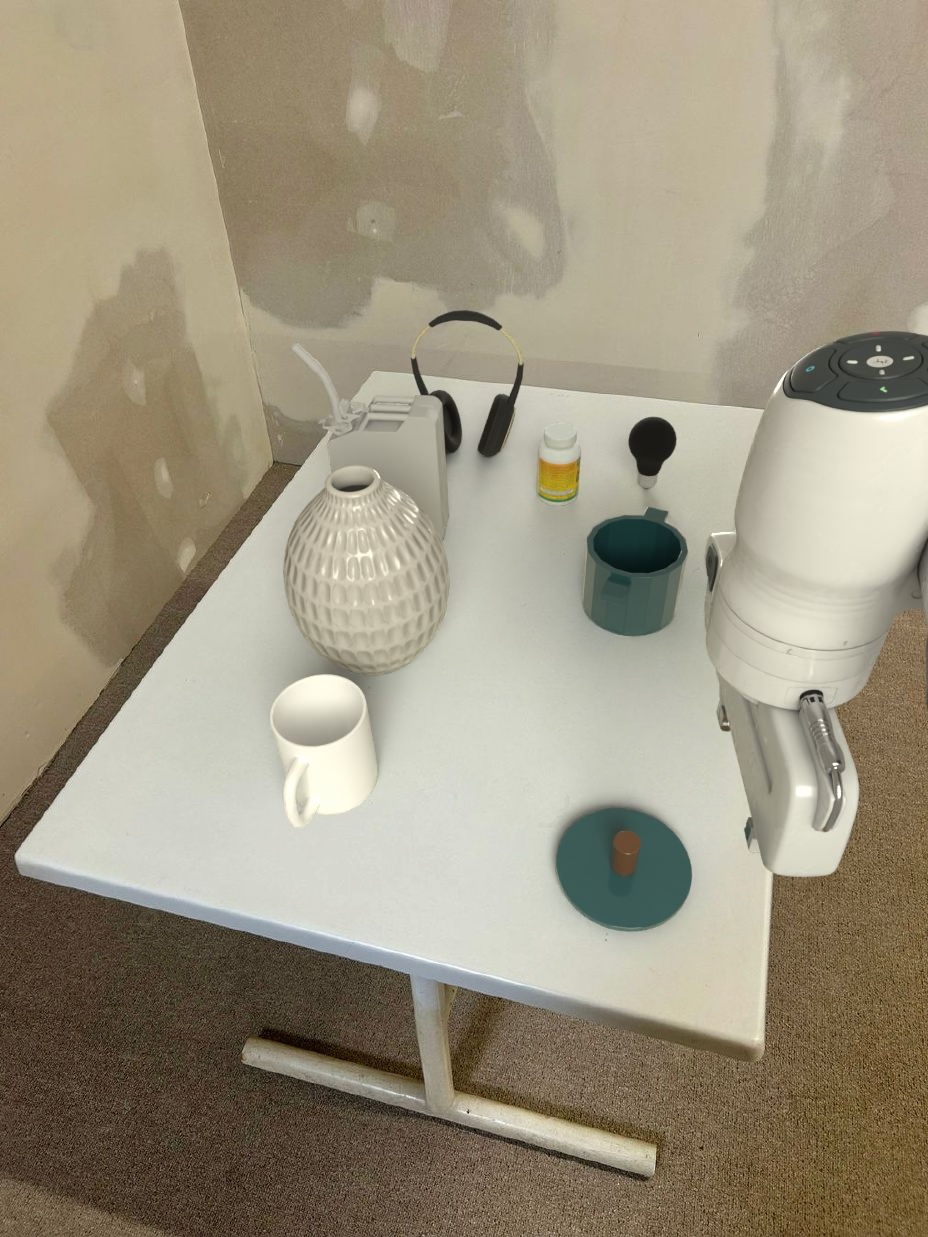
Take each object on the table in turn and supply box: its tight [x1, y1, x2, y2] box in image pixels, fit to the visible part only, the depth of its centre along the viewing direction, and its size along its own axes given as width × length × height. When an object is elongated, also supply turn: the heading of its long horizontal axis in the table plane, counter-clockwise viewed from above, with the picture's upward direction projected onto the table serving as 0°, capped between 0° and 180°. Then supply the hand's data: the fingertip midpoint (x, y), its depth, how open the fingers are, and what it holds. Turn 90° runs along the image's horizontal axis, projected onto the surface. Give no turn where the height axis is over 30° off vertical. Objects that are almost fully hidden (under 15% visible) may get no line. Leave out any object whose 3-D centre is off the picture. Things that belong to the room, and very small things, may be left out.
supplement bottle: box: [536, 421, 582, 507], centre depth 109 cm, size 5×5×10 cm
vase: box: [282, 465, 451, 676], centre depth 85 cm, size 16×16×22 cm
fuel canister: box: [289, 341, 450, 541], centre depth 100 cm, size 15×5×25 cm, turn 82°
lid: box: [555, 807, 693, 933], centre depth 71 cm, size 11×11×5 cm
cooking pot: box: [581, 506, 689, 637], centre depth 94 cm, size 10×16×8 cm, turn 154°
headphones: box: [410, 309, 525, 458], centre depth 113 cm, size 9×15×20 cm, turn 79°
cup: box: [269, 673, 379, 829], centre depth 76 cm, size 8×12×10 cm
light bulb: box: [627, 416, 678, 490], centre depth 109 cm, size 6×6×10 cm
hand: (743, 779), depth 57 cm, fingers open, 8 cm apart
